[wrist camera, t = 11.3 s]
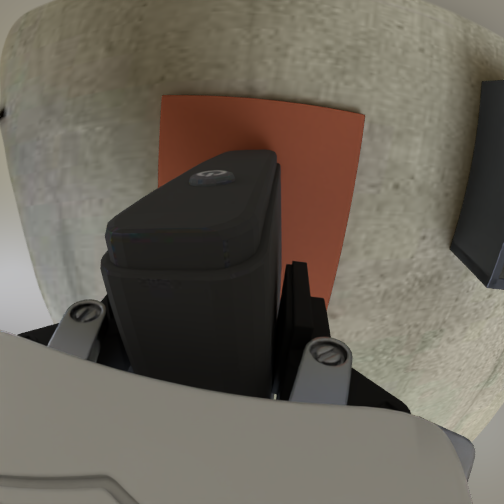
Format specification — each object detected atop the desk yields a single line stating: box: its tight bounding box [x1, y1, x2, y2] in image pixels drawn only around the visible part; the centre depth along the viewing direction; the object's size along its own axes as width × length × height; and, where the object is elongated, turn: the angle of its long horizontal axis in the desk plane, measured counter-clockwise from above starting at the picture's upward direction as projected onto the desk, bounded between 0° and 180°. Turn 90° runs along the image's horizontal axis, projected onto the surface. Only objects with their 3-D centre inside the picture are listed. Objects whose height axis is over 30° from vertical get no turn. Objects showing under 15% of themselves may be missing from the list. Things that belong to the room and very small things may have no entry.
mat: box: [158, 95, 365, 311], centre depth 21 cm, size 15×13×1 cm
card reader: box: [100, 149, 282, 399], centre depth 14 cm, size 9×4×15 cm, turn 2°
